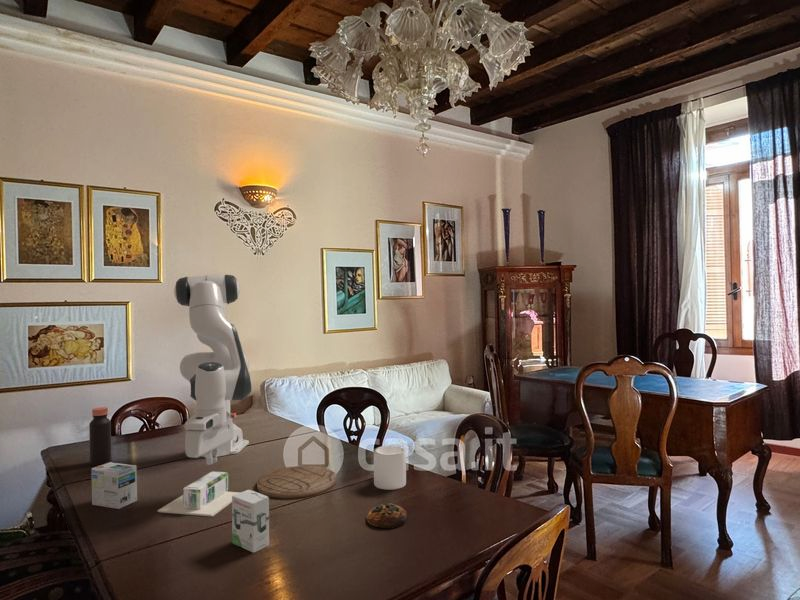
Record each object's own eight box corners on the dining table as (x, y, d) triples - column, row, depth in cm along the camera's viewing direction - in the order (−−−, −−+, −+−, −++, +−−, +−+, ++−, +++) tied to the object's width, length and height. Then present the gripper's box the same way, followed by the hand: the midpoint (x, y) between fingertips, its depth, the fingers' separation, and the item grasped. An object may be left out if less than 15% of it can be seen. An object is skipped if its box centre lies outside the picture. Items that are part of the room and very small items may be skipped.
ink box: (230, 543, 122) (230, 494, 122) (247, 535, 126) (247, 488, 126) (253, 553, 117) (252, 503, 117) (270, 545, 121) (269, 496, 121)
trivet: (298, 466, 179) (298, 461, 179) (352, 480, 165) (352, 474, 165) (240, 488, 159) (240, 482, 159) (295, 506, 145) (295, 500, 145)
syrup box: (228, 490, 155) (201, 509, 141) (211, 489, 157) (182, 508, 142) (228, 472, 155) (200, 489, 141) (211, 470, 157) (182, 488, 142)
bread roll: (393, 532, 127) (391, 512, 127) (358, 528, 133) (356, 509, 133) (416, 518, 136) (414, 499, 137) (382, 515, 142) (380, 496, 143)
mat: (192, 490, 157) (192, 489, 157) (242, 494, 153) (242, 492, 153) (157, 512, 141) (157, 510, 141) (212, 516, 138) (212, 514, 138)
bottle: (85, 464, 183) (84, 409, 183) (102, 459, 190) (102, 406, 190) (98, 466, 181) (97, 411, 181) (115, 461, 187) (114, 407, 187)
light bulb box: (138, 500, 150) (137, 464, 150) (118, 509, 143) (118, 472, 143) (110, 496, 153) (110, 461, 153) (90, 505, 147) (90, 468, 147)
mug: (367, 477, 167) (366, 444, 167) (396, 473, 171) (395, 441, 171) (379, 491, 154) (379, 456, 154) (410, 486, 158) (410, 452, 158)
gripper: (220, 409, 162) (221, 452, 162) (180, 425, 142) (181, 474, 142) (238, 410, 161) (239, 453, 161) (200, 426, 141) (201, 475, 141)
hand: (211, 463), depth 152 cm, fingers closed
